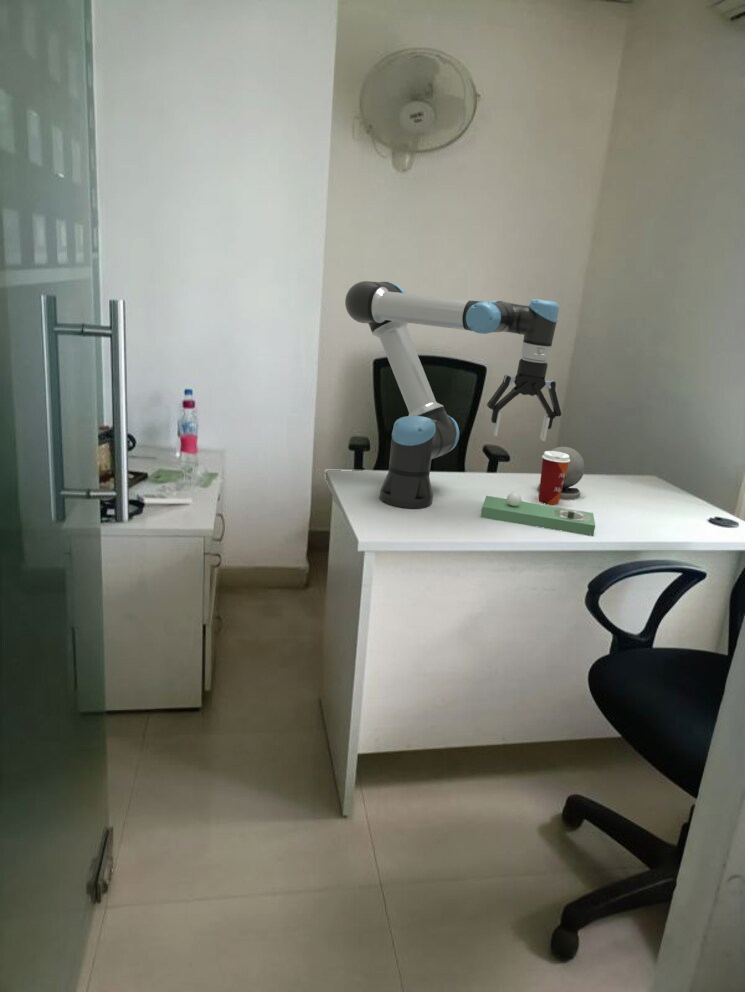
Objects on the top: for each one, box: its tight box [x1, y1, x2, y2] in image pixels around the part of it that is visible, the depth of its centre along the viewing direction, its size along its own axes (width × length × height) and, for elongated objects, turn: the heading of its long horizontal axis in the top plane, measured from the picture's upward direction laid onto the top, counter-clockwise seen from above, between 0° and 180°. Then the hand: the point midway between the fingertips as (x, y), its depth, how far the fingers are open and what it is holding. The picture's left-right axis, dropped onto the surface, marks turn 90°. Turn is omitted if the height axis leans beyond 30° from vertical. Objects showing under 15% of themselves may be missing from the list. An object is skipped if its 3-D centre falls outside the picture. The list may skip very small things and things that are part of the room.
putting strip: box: [480, 495, 596, 537], centre depth 196 cm, size 30×11×3 cm, turn 76°
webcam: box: [537, 446, 586, 501], centre depth 221 cm, size 13×13×15 cm
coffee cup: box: [537, 450, 570, 506], centre depth 212 cm, size 8×8×15 cm
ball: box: [506, 491, 522, 506], centre depth 196 cm, size 4×4×4 cm
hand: (518, 437), depth 195 cm, fingers open, 13 cm apart
